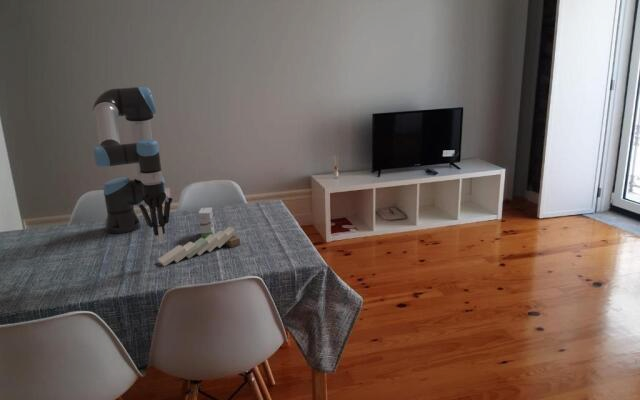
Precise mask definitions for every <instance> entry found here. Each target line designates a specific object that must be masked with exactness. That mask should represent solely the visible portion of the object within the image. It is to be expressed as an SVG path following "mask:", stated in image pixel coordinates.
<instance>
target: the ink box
mask: <svg viewBox="0 0 640 400" xmlns="http://www.w3.org/2000/svg"><path fill="white" fill-rule="evenodd" d="M198 219H199V227H200V236H201V237H202V238H203V239H205V238H207V237H208V236H209V235H210V234H212V235H215V226H214V225H215V224H214V214H213V207H201V208H200V210H199V212H198ZM201 237H200V238H201Z"/></svg>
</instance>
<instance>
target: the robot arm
mask: <svg viewBox="0 0 640 400" xmlns="http://www.w3.org/2000/svg"><path fill="white" fill-rule="evenodd" d="M92 106H93V107H92V112H93V117H94V118H95V120H96V126H97V136H98V145H99V146H95V147H94V148H93V156H94V162H95V165H96V166H97V167H99V168H100V167H101V168H102V167H103V168H104V167H114V166H120V165H130V164H135V168H136V173H135V175H134V178H133V179H130V178H129V177H128V176H127V177H126V176H123V177H116V178H114V179H111V180H109V181H107V182H105V183H104V184H103V186H102V187H103V196H104V200H105V206H106V213H107V217H106V222H105V231H106V233H109V234H125V233H129V232H132V231H135V230H138V229H139V228H140V227H141V221H140V219H139V217H138V215H137V214H136V211H135V209H134V206H137V207H138V208H139V209H140V210H141V213H142V216H143V219H144V220H145V223H146V225H147V226H148V227H150V228H152V231H153V235H154V236H156V241H157V243H158V244H165V239H164V234H165V233H166V230H165V226H166V225H167V224H168V223H169V221H170V214H171V203H172V202H173V198H172V197H171V196H167V194H166V186H165V185H166V183H165V177H164V176H163V173H162V172H163V171H162V165H161V164H162V163H161V158H160V157H161V155H160V147H159V143H158V141H157V140H155V139H154V138H153V133H152V132H153V131H152V125H151V124H152V120H154V115H155V114H156V113H157V109H156V105H155V101H154V98H153V94H152V91H151V89H150V88H149V87H146V86H142V87H141V86H135V87H133V86H132V87H123V88H111V89H108V90H104V92H102V93H101V94H100V95H99V96H98V97H97V98H96V100H95V101H94V103H93V105H92ZM118 117H125V121H126V122H128V123H129V126H130V132H131V139H132V143H131V142H130V143H126V144H125V143H121V140H120V133H119V126H118V125H119V124H118ZM163 203H164V206H163ZM146 205H147V206H148V207H149V208H148V209H149V212H150V215H149V212H148V209H147V208H146Z"/></svg>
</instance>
